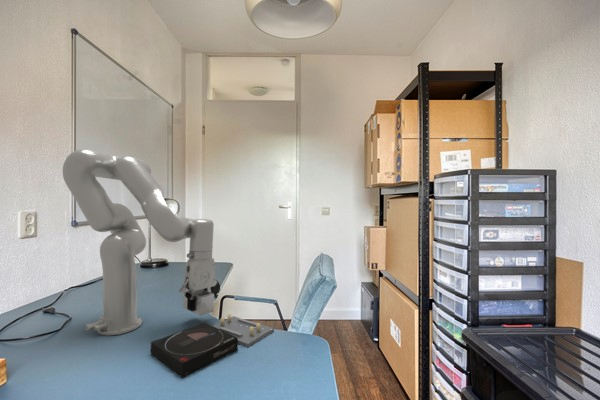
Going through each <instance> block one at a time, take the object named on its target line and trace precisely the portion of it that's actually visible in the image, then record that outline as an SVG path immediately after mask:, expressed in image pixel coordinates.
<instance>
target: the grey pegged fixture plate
mask: <svg viewBox="0 0 600 400" xmlns="http://www.w3.org/2000/svg"><path fill="white" fill-rule="evenodd" d="M230 323H231V324H230ZM235 324H236V325H235ZM240 325H242V326H240ZM212 326H213V327H216V328H218V329H220V330H222V331H224V332H226V333H228V334H231V335H233V336H235V337H237V338H238V345H241V346H243V347H246V348H249V347H252V345H254V344H256V343H258V342H259V341H261V340H262V339H264V338H265V337H267V336H269V335H270V334H272V333H274V332H275V331H274V329H275V328H274V327H271V326H268V325H265V324H261V323H260V322H254V321H251V320H248V319H244V318H241V317H237V316H234V315H233V316H232V314H230V313H229V314H227V319H225V317H220V322H218V323H216V324H214V325H212ZM246 326H248V327H246ZM254 327H256V328H254ZM262 328H264V329H262ZM270 329H272V330H270Z"/></svg>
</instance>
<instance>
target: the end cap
mask: <svg viewBox="0 0 600 400" xmlns="http://www.w3.org/2000/svg"><path fill="white" fill-rule="evenodd" d="M216 281H217V284H216V285H215V286H214V288H213V290H212V291H211V293H213V294H214V296H216V295H218V294H219V293H220V291H221V283H220V282H219V281H218V280H217V279H216Z"/></svg>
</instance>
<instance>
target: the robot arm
mask: <svg viewBox="0 0 600 400" xmlns="http://www.w3.org/2000/svg"><path fill="white" fill-rule="evenodd" d="M62 177H63V180H64V184H65V185H66V186H67V189H68V190H69V192H70V194H71V195H72V196H73V198H74V199H75V202H76V203H77V205H78V207H79V209H80V210H81V212H82V214H83V216H84V218H85V219H86V221H87V222H88V225H89V226H90V227H91V229H92V230H94V231H95V232H98V233H106V232H110V233H111V234H110V235H108V236H106V237H105V238H103V241H102V242H101V244H100V246H99V256H100V260H101V267H102V296H103V297H102V307H103V308H102V312H103V313H102V316H99V319H97V320H96V321H95V322H90V323H88V324H85V325H84V327H85V331H86V332H89V331H92V330H94V331H96V332H97V333H98V335H101V336H117V335H123V334H126V333H129V332H132V331H134V330H136V329H138V328H139V327H140V326H141V325H142V323H143V320H142V318H141V317H140V316H138V305H137V304H138V303H137V302H138V299H137V298H138V296H137V295H138V292H137V290H138V288H137V287H138V286H137V285H138V284H137V283H138V282H137V281H138V278H137V266H136V262H135V256H138V255H139V254H141V253H142V252H143V251H144V250H145V248H146V245H147V239H146V236H145V234H144V232H143V230H142V228H141V226H140V224H139V223H138V221H137V219H136V218H135V215H134V214H133V212H132V211H131V210H130V209H129V208H128V207H127V206H126V205H124V204H121V203H118V202H117V203H116V202H115V203H114V202H112V200H111V198H110V197H109V196H108V193H107V191H106V189H105V188H104V186H102V184H101V183H100V182H99V181H98V179H97V178H101V179H102V178H103V179H110V180H115V181H120V182H121V183H122V184H123V185H124V186H125V188H126V189H127V190H128V191H129V193H130V194H131V195H132V196H133V197H134V198H135V199H136V201H137V202H138V203H139V204H140V206H141V207H140V208H141V210H142V211H143V213H144V215H145V217H146V220H147V221H148V222H149V224H150V226H152V227H153V229H154V230H155V231H156V232H157V233H158V235H159V236H160V237H161V238H163V239H164V240H165V241H166V242H169V243H178V242H180V241H183V240H186V239H189V253H187V254H186V258H188V259H187V262H186V265H185V269H184V271H185V272H184V276H183V279H184V280H183V284H182V285H181V287H180V289H179V293H180V294H182V295H183V297H184V296H185V297H186V298H187V309H188V311H189V310H190V311H189V312H191V311H195V299H194V296H195V293H196V291H199V290H205V291H208V292H211V291H212V290H213V288H214V286H215V285H216V284H217V281H218V280H217V279H216V264H215V263H216V262H215V258H214V257H213V243H214V225H215V224H214V221H213V220H212V219H207V218H206V219H205V218H197V219H196V218H195V219H193V218H188V217H187V218H186V217H177V216H176V215H175V214H174V212H173V211H172V210H171V208H170V207H169V206H168V204H167V202H166V200H165V191H164V189H163V187H162V186H161V184H159V183H158V181H157V180H156V179H155V178H154V176H153V175H152V170H151V167H150V165H149V163H147V162H146V161H145V160H144V159H141V158H137V157H134V156H130V155H125V156H118V155H111V154H107V153H104V152H101V151H97V150H94V149H88V148H82V149H77V150H74V151H72V152H71V153H69V154H68V156H67V157H66V158H65V160H64V162H63V165H62ZM216 280H217V281H216ZM186 290H188V291H186ZM191 291H192V293H191ZM187 309H186V310H187Z"/></svg>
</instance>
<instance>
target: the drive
mask: <svg viewBox="0 0 600 400" xmlns="http://www.w3.org/2000/svg"><path fill="white" fill-rule="evenodd" d="M186 291H188V289H186ZM191 293H192V291H191ZM194 299H195V311H190V310H188V309H187V298H186V297H185V296H184V295H183V303H182V306H183V307H182V308H183V309H185V310H186V311H187V310H188V311H189V312H192V313H194V314H196V315H199V316H204V315H206V314H207V315H208V314H209V313H212V312H214V310H215V309H214V307H215V295H214V294H213V293H211V292H208V291H205V290H199V291H196V293H195V296H194Z"/></svg>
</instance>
